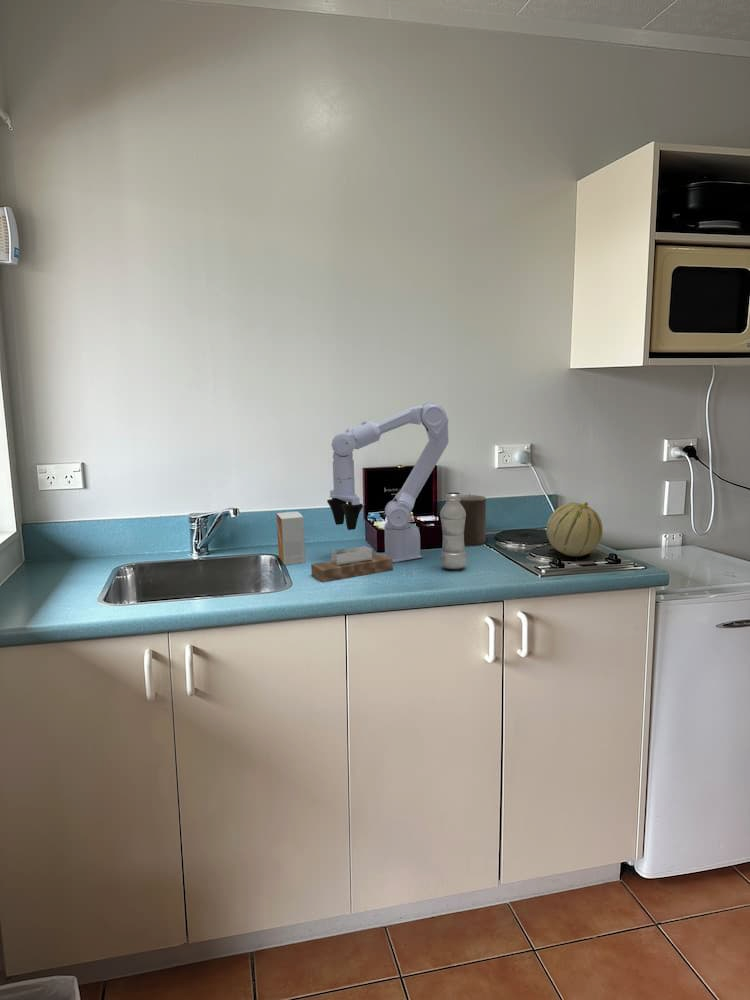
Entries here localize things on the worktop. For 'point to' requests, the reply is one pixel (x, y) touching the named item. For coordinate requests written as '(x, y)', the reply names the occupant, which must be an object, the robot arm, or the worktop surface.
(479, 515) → the pillar candle
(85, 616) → the worktop surface
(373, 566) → the walnut rail
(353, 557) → the pale wooden bridge block
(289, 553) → the small box
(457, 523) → the plastic bottle
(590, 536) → the cantaloupe
